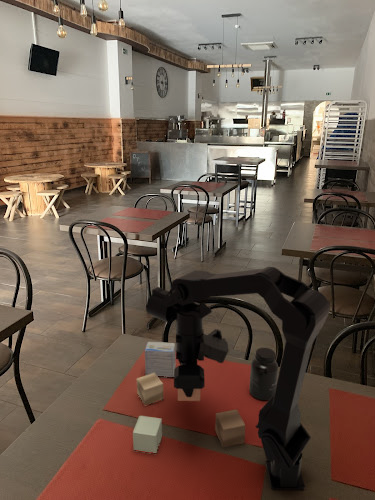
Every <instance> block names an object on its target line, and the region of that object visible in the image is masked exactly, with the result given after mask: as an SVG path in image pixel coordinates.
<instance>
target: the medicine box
mask: <svg viewBox="0 0 375 500" xmlns="http://www.w3.org/2000/svg"><path fill="white" fill-rule="evenodd" d="M144 367H145V369H144V370H145V376H146V375H149V374H152V373H155V374H156V375H157V376H164V377H163V378H167V377H174V369H175V368H176V342H163V341H161V342H160V341H159V342H158V341H147V343H146V345H145V348H144ZM165 376H166V377H165Z"/></svg>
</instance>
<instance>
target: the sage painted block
mask: <svg viewBox="0 0 375 500" xmlns="http://www.w3.org/2000/svg"><path fill="white" fill-rule="evenodd" d="M162 419H163V418H158V417H151V416H146V415H139V416H138V419H137V421H136V424H135V426H134V429H133V431H132V443H133V451H134V450H139V451H145V452H153V453H158V451H157V449H158V450H159V448H158V446H159V447H160V444H159V443H161V440H162V437H163V425H162V423H163V422H162V421H163V420H162ZM145 452H144V453H145Z"/></svg>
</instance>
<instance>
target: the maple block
mask: <svg viewBox="0 0 375 500" xmlns="http://www.w3.org/2000/svg"><path fill="white" fill-rule="evenodd" d="M136 393H137V394H138V395H139V396H138V395H137V394H136V395H137V396H138V398H139V397H140V398H141V399H140V398H139V399H140V401H141V400H142V401H141V402H142V404H143V403H144V404H143V406H145V405H148V404H151V403H153V404H155V403H154V402H156V401H159V400H161V401H163V400H164V383H163V382H162V380H161V379H160V377H158V376H157V375H156V374H155V373H152V374H149V375H146V374H145V375H143V376H141V377H137V378H136ZM162 399H163V400H162ZM159 402H160V401H159ZM156 403H157V402H156ZM151 405H152V404H151ZM148 406H149V405H148Z"/></svg>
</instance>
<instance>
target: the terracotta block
mask: <svg viewBox="0 0 375 500" xmlns="http://www.w3.org/2000/svg"><path fill="white" fill-rule="evenodd" d="M178 401H179V402H180V401H181V402H183V401H185V402H201V389H194V391H193V394H192V397H186V395H185V393H184V391H183V390H182V389H177V402H178Z"/></svg>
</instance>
